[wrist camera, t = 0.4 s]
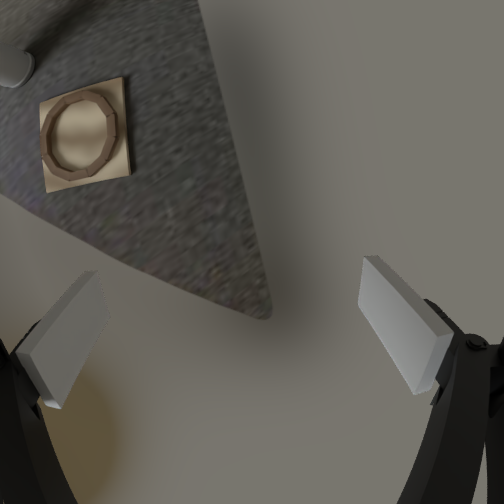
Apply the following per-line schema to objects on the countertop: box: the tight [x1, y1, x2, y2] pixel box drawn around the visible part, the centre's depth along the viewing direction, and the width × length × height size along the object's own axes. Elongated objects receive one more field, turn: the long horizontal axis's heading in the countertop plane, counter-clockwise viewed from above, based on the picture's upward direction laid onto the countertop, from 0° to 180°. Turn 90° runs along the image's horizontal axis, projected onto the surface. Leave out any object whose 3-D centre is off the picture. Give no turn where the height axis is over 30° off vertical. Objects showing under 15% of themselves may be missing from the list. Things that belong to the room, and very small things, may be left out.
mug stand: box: [40, 77, 131, 193], centre depth 34 cm, size 14×14×2 cm
